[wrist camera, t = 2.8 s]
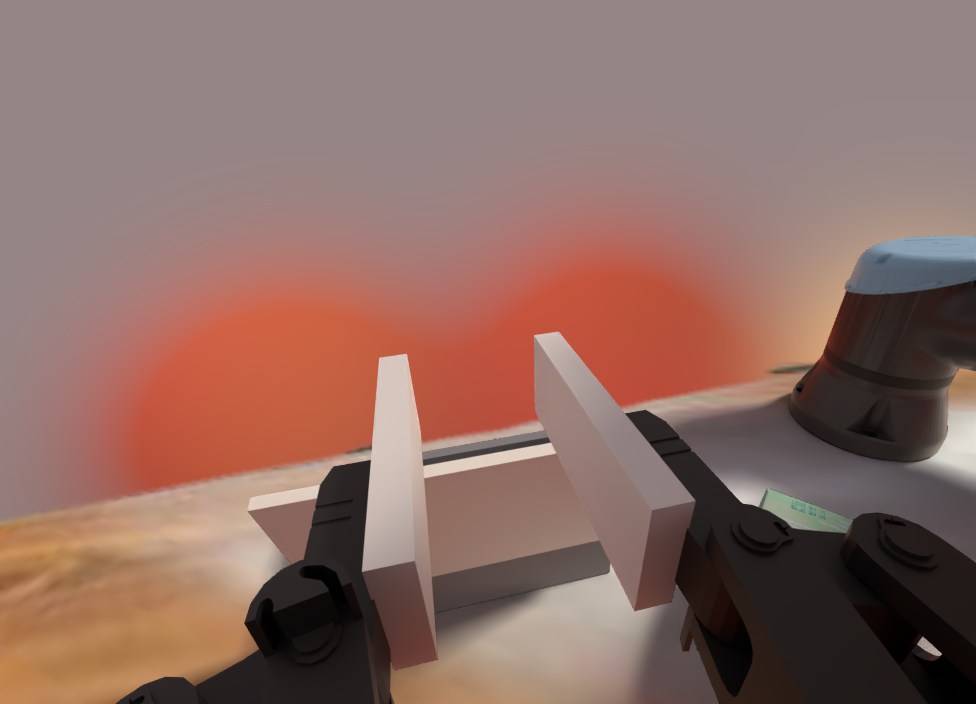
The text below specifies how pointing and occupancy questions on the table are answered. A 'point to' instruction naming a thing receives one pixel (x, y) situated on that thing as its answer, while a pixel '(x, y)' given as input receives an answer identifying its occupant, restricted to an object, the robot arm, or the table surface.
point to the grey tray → (515, 572)
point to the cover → (464, 510)
